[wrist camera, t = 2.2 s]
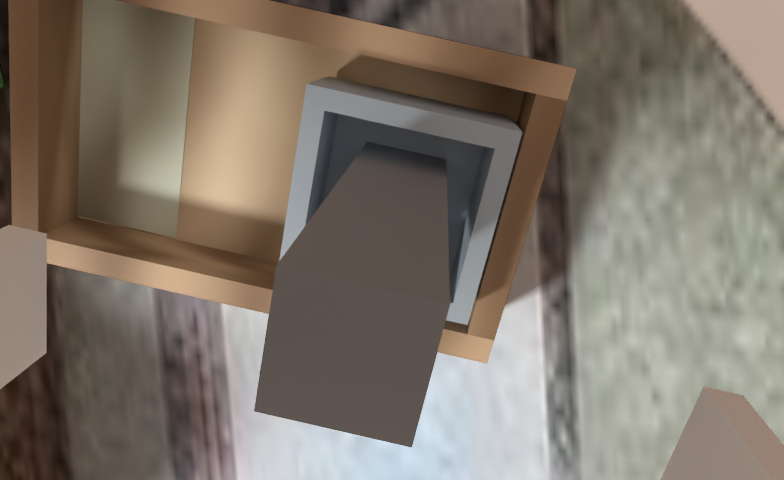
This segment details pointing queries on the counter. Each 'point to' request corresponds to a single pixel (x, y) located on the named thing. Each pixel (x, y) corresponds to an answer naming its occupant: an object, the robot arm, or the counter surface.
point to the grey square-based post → (378, 253)
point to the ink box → (1, 80)
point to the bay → (230, 136)
